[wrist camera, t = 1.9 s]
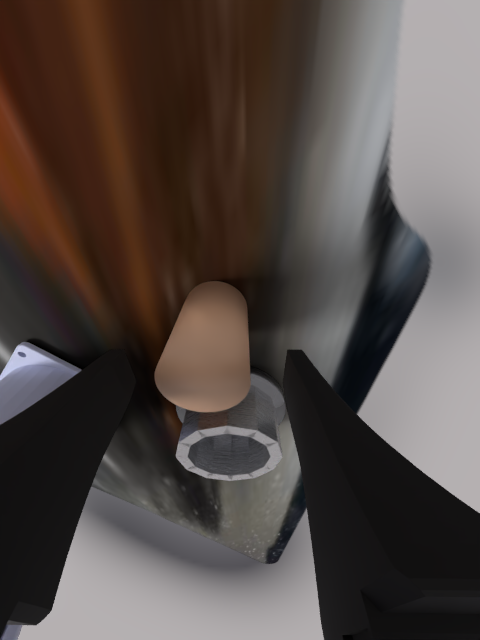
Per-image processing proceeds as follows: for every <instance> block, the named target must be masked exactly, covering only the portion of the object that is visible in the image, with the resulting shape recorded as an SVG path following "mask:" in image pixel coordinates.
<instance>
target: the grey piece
mask: <svg viewBox="0 0 480 640" xmlns="http://www.w3.org/2000/svg"><path fill="white" fill-rule="evenodd" d="M250 379H251V385H250V389H249V392H248V394H247V395H246V397H245V398H244V399H243V400H242V401H241V402H240V403H238V404H237V405H235V406H233V407H231V408H229V409H226V410H222V411H217V412H197V411H192V410H188V409H185V408H182V407H179V406H177V405H176V411H177V414H178V417H179V419H180V420H181V422H182V423H183V426H182V430H181V434H180V438H179V443H178V448H177V453H176V458H177V459H178V460H179V461H180V462H181V464H182V465H183V466H184V467H185V468H186V469H187V470H189V471H191V472H194V473H196V474H199V475H201V476H203V477H206V478H212V479H220V480H229V481H233V480H241V479H249V478H255V477H258V476H260V475H262V474H265V473H267V472H269V471H271V470H273V469H274V468H275V467H276V465H277V464H278V463H279V461H280V460H281V458H282V457H283V456H282V449H281V442H280V436H279V429H278V425H279V424H280V423H281V422H282V420H283V418H284V416H285V411H286V406H285V400H284V395H283V391H282V389H281V387H280V385H279V384H278V383H277V381H276V380H275V379H274V378H272V377H271V376H270V375H268V374H267V373H265V372H263V371H261V370H259V369H256V368H254V367H250Z"/></svg>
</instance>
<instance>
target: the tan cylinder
mask: <svg viewBox="0 0 480 640" xmlns="http://www.w3.org/2000/svg"><path fill="white" fill-rule="evenodd" d="M154 375H155V383H156V386H157V388H158V389H159V391H160V392H161V394H162V395H163V396H164V397H165V398H166V399H168V400H169V401H170V402H172V403H174V404H175V405H177V406H179V407H182V408H185V409H188V410H192V411H197V412H217V411H222V410H226V409H229V408H231V407H233V406H235V405H237V404H238V403H240V402H241V401H242V400H243V399H244V398H245V397H246V395H247V394H248V392H249V389H250V385H251V379H250V356H249V334H248V311H247V303H246V300H245V298H244V296H243V295H242V294H241V292H240V291H239V290H237V289H236V288H235V287H233V286H232V285H230V284H227V283H224V282H219V281H209V282H205V283H202V284H200V285H198V286H196V287H195V288H193V289H192V290H191V291H190V293H189V294H188V296H187V298H186V300H185V303H184V305H183V307H182V310H181V312H180V314H179V316H178V319H177V321H176V323H175V326H174V328H173V330H172V332H171V335H170V337H169V339H168V342H167V344H166V346H165V348H164V351H163V353H162V355H161V358H160V360H159V362H158V365H157V367H156V369H155V374H154Z"/></svg>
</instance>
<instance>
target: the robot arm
mask: <svg viewBox="0 0 480 640" xmlns="http://www.w3.org/2000/svg"><path fill="white" fill-rule="evenodd" d="M135 384H136V379H135V376H134V374H133V371H132V369H131V366H130V363H129V361H128V358H127V355H126V353H125V350H109V351H108V352H106V353H105V354H103V355H102V356H101V357H99V358H98V359H96V360H95V361H94V362H92V363H91V364H90V365H88V366H87V367H86V368H84V369H83V370H81V369H79V368H77V367H76V366H74V365H72V364H70V363H68V362H66V361H64V360H62V359H60V358H58V357H56V356H54V355H52V354H50V353H48V352H46V351H44V350H43V349H41V348H39V347H37V346H35V345H33V344H31V343H28V342H22V343H21V344H19V345H18V346H17V347H16V349H15V351H14V353H13V354H12V356H11V358H10V360H9V361H8V363H7V365H6V367H5V368H4V370H3V372H2V374H1V375H0V640H17V639H18V636H19V634H20V631H21V628H22V625H37V624H38V623H40V622H41V621H42V620H43V619H44V618H45V617H46V616H47V615H48V614H49V613H50V611H51V610H52V607H53V603H54V600H55V596H56V592H57V589H58V585H59V582H60V579H61V575H62V572H63V568H64V565H65V561H66V558H67V555H68V552H69V549H70V545H71V543H72V540H73V536H74V533H75V530H76V527H77V524H78V521H79V518H80V516H81V513H82V510H83V507H84V504H85V501H86V498H87V496H88V493H89V490H90V488H91V485H92V483H93V480H94V477H95V475H96V472H97V470H98V467H99V465H100V462H101V460H102V458H103V456H104V454H105V452H106V450H107V447H108V445H109V443H110V441H111V439H112V437H113V435H114V433H115V431H116V429H117V427H118V425H119V423H120V421H121V419H122V417H123V415H124V413H125V411H126V409H127V407H128V405H129V402H130V399H131V397H132V394H133V391H134V388H135ZM283 387H284V395H285V402H286V407H287V411H288V415H289V420H290V424H291V428H292V432H293V436H294V440H295V444H296V448H297V452H298V456H299V461H300V466H301V472H302V478H303V485H304V491H305V498H306V505H307V512H308V519H309V526H310V534H311V540H312V548H313V556H314V564H315V573H316V582H317V590H318V599H319V607H320V617H321V624H322V630H323V635H324V640H480V513H478V512H477V511H475V510H474V509H472V508H471V507H469V506H468V505H467V504H465V503H464V502H462V501H461V500H459V499H458V498H457V497H455V496H454V495H452V494H451V493H450V492H448V491H447V490H446V489H444V488H443V487H442V486H440V485H439V484H438V483H436V482H435V481H434V480H432V479H431V478H430V477H428V476H427V475H426V474H424V473H423V472H422V471H421V470H419V469H418V468H417V467H416V466H414V465H413V464H412V463H411V462H410V461H408V460H407V459H406V458H405V457H403V456H402V455H401V454H400V453H398V452H397V451H396V450H395V449H394V448H392V447H391V446H390V445H389V444H388V443H386V441H384V440H383V439H382V438H381V437H380V436H379V435H378V434H377V433H375V432H374V431H373V430H372V429H371V428H370V427H369V426H368V425H367V424H366V423H365V422H364V421H363V420H362V419H361V418H360V417H359V416H358V415H357V414H356V413H355V412H354V411H353V410H352V409H351V408H350V407H349V406H348V405H347V404H346V403H345V402H344V401H343V400H342V399H341V398H340V396H339V395H338V394H337V393H336V392H335V391H334V390H333V388H332V387H331V386H330V385H329V384H328V383H327V381H326V380H325V379H324V378H323V377H322V375H321V374H320V373H319V372H318V370H317V369H316V368H315V366H314V365H313V364H312V363H311V361H310V360H309V359H308V357H307V356H306V355H305V353H304V352H303V351H302V350H287V357H286V364H285V371H284V378H283Z"/></svg>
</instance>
